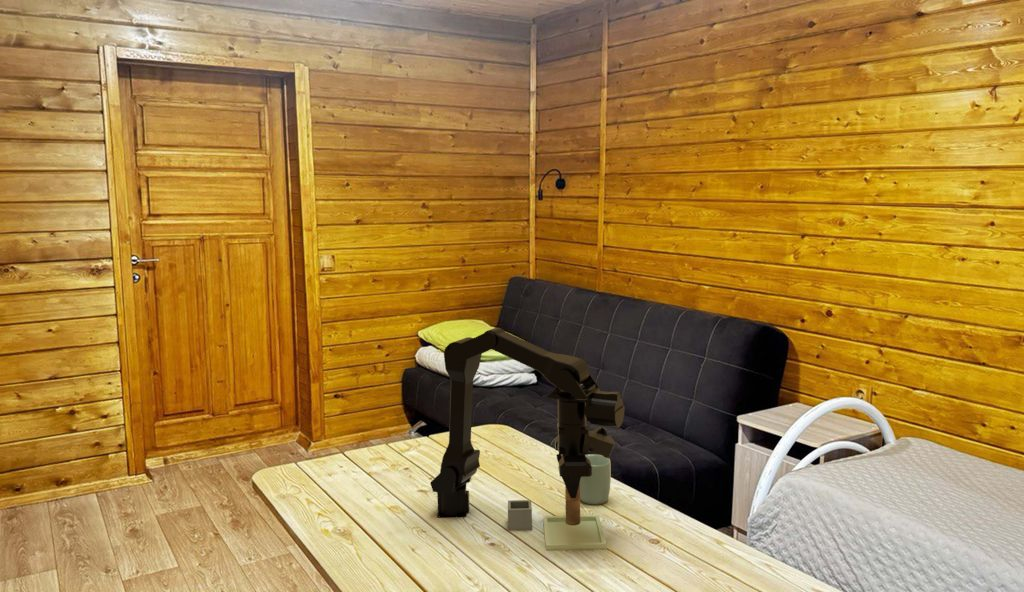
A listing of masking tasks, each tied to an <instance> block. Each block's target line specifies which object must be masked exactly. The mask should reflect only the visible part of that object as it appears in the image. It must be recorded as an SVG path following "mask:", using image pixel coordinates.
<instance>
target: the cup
mask: <svg viewBox="0 0 1024 592" xmlns="http://www.w3.org/2000/svg"><path fill="white" fill-rule="evenodd" d="M585 456H586V457H587V458H588V459H589V460H590V462H591V466H592V476H589V477H581V479H580V501H582V503H584V504H586V505H595V506H596V505H602V504H604V503H605V502H606V501H608V498H609V496H610V491H611V481H612V479H611V477H612V475H611V474H612V473H611V472H612V471H611V469H612V468H611V459H610V458H605V457H604V456H602V455H599V454H596V453H594V454H592V453H591V454H590V453H589V455H585Z"/></svg>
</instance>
